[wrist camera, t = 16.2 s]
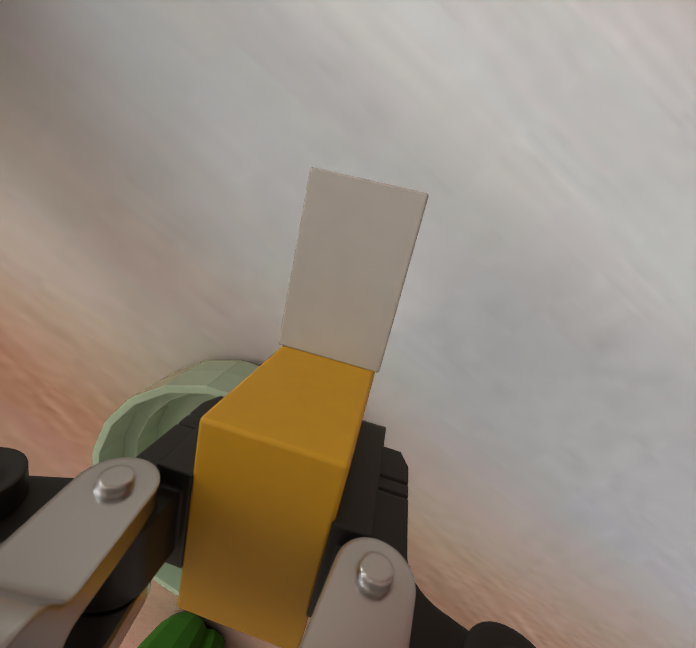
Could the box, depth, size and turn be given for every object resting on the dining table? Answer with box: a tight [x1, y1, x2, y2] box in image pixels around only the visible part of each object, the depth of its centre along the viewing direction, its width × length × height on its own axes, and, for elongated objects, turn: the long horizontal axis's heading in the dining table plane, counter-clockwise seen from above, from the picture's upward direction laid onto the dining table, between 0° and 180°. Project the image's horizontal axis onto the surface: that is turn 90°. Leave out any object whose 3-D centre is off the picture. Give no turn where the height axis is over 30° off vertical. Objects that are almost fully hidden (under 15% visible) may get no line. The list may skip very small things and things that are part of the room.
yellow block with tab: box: [178, 167, 428, 648], centre depth 8 cm, size 9×3×4 cm, turn 167°
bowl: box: [92, 360, 259, 597], centre depth 24 cm, size 17×17×5 cm
